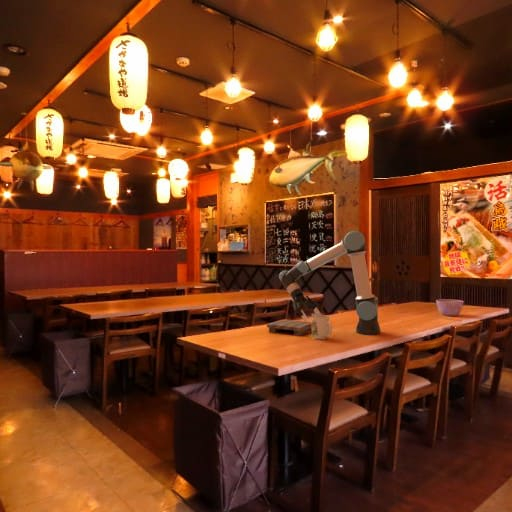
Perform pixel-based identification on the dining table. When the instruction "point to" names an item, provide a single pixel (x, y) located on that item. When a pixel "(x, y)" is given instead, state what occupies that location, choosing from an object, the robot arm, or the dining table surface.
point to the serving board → (290, 326)
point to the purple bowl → (449, 306)
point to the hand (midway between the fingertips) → (313, 318)
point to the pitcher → (321, 326)
